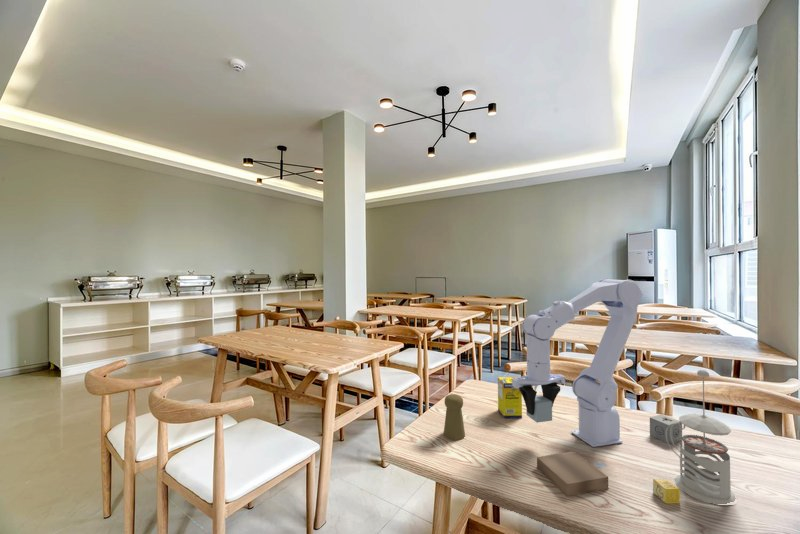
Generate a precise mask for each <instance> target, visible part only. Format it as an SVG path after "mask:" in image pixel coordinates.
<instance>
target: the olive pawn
mask: <svg viewBox="0 0 800 534" xmlns="http://www.w3.org/2000/svg"><path fill="white" fill-rule="evenodd" d="M444 405H445V408H446V410H445V419H444V420H445V421H444V428H443V437H444V436H445V437H444V438H445V439H447V440H450V441H463V440H464V439H465V438H466V431H465V424H464V423H465V422H464V417H463V409H462V408H463V407H464V399H463V397H462V396H461V395H459V394H456V393H450V394H447V395H446V396H445V398H444ZM464 437H465V438H464Z"/></svg>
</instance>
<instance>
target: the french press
mask: <svg viewBox="0 0 800 534" xmlns="http://www.w3.org/2000/svg"><path fill="white" fill-rule="evenodd" d="M696 374H697V376H699V377H702V408H703V409H702V412H703V413H702V414H699V413H691V414H690V413H689V414H684V415H681V416H679V417H678V419H679V420H678V422H675V423H672V424H670V425H669V426H668V427H667V428H666V440H667V443H666V444H667V445H668V447H669V448H670V450H671V451H672V452H673V453H674V454H675V455H676V456H677V457H678V458H679V469H680V470H679V475H677V476H676V477H675V478H674V479H673V480H674V482H675V486H676V487H678V488H679V489H680V491H682V492H684V493H685V494H687V495H689V496H690V497H692V498H695V499H697V500H699V501H702V502H704V503H707V504H710V503H713V504H712V505H714V504H727V503H730V502H734V501H735V499H736V498H735V495H736V494H735V493H734V492H733V491H732V490H731V457H730V455H729V453H728V451H729V448H728V446H726V445H725V444H723V443H722V442H719V441H718V440H715V439H712V438H710V437H707V436H706V434H709V435H712V436H727V435H729V434H730V433H731V432H732V429H731V428H730V427H729V426H728V425H727V424H725V423H724V422H722V421H720V420H719V419H717V418H715V417H711V416H709V415H705V378H709V377H710V373H709V372H708V371H707V370H705V369H699V370H698V371H696ZM680 422H681V423H682V425H683V427H682V429H681V425H680V424H679V423H680ZM674 424H679V426H680V429H681V430H682V431H683V430H684V429H685V428H686V427H687V428H689V429H691V430H694V431H697V432H700V433H703V436H702V435H698V434H685V435H682V442H681V443H680V445H679V448H678V447H677V445H676V443H674V442H673V440H672V436H671V430H672V427H673V426H674ZM671 425H672V426H671ZM670 426H671V428H670V437H671V440H672V443H673V444H672V445H673V446H674V447H675V449H676V450H677V451H678V452H679V453H680V454H678V453H677V452H676V451H675V450H674V449H673V448H672V446H671V444H669V443H668V439H667V430H668V428H669V427H670ZM698 455H708V456H709V457H708V456H707V457H705V456H698ZM710 457H711V458H710ZM712 458H714V459H715V460H714V459H712ZM720 458H721V459H722V460H721V459H720ZM699 466H700V467H699ZM701 467H702V468H701ZM683 468H684V469H683ZM733 493H734V494H735V495H734V494H733Z"/></svg>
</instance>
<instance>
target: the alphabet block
mask: <svg viewBox="0 0 800 534" xmlns="http://www.w3.org/2000/svg"><path fill="white" fill-rule="evenodd" d="M652 486H653V487H652V493H653V494H654V495H656V497H657V498H659V499H660V500H661V501H662V502H663V503H664V504H679V503H680V496H681V495H680V493H681V489H680V488H679V487H678V486H677V485H676V484H674V483H673V482H671V481H670V480H669V479H667V478H653V481H652Z"/></svg>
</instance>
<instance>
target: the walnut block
mask: <svg viewBox="0 0 800 534" xmlns="http://www.w3.org/2000/svg"><path fill="white" fill-rule="evenodd" d="M536 469H537V470H538V471H540V473H542V474H543V475H544V476H545V477H546V478H547V479H548V480H549V481H550V482H551V483H552V484H554V486H555V487H557V488H558V490H560V492H562V493H563V494H564V495H565V496H566V497H568V498H569V497H572V496H577V495H578V496H579V495H583V494H588V493H595V492H600V491H604V490H609V476H608V475H606V474H605V473H604V472H602V471H601V470H600V469H598V467H597V466H595V465H593V464H592V463H591V462H589V461H588V460H586V459H585V458H584V457H583V456H581V455H579V453H577V452H576V451H567V452H561V453H560V452H559V453H553V454H548V455H541V456H537V457H536Z"/></svg>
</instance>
